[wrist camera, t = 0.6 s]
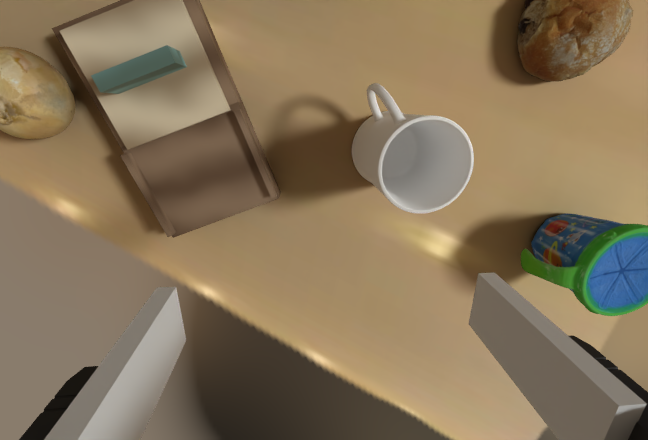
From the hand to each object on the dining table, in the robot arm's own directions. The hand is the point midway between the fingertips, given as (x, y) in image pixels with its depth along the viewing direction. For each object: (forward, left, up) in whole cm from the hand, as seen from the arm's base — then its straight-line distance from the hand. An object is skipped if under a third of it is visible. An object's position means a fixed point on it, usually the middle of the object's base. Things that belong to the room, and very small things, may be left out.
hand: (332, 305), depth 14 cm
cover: (-16, -10, -23) cm, 29 cm away
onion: (-18, -22, -26) cm, 38 cm away
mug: (-2, +10, -26) cm, 27 cm away
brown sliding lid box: (-11, -10, -25) cm, 29 cm away
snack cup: (+19, +28, -26) cm, 43 cm away
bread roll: (-6, +31, -26) cm, 40 cm away
